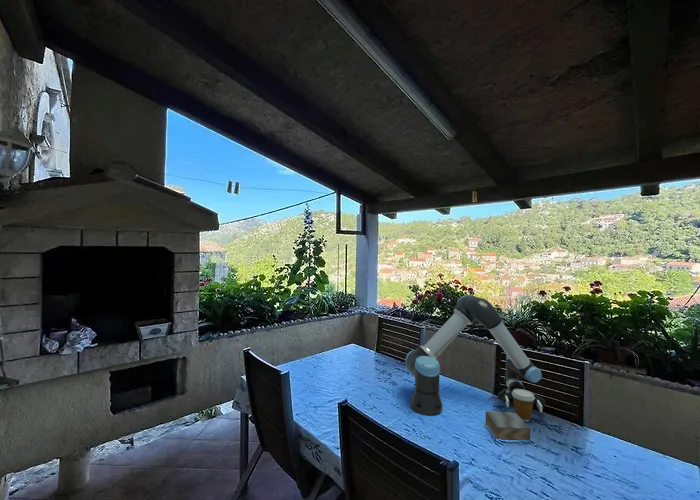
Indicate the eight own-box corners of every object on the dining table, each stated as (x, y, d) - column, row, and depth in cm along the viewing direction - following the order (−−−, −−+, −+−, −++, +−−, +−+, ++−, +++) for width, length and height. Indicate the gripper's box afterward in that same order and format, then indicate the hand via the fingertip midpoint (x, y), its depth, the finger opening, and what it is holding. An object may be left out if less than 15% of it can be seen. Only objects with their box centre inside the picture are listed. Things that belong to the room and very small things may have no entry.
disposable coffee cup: (522, 425, 145) (522, 398, 145) (506, 414, 154) (507, 389, 154) (539, 422, 148) (540, 396, 148) (523, 412, 157) (523, 387, 157)
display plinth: (497, 441, 132) (497, 426, 132) (485, 424, 145) (485, 411, 145) (530, 443, 131) (530, 428, 131) (515, 426, 144) (515, 412, 144)
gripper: (543, 399, 165) (555, 419, 145) (490, 392, 173) (494, 410, 153) (543, 384, 165) (555, 402, 145) (490, 378, 173) (494, 394, 153)
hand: (524, 406), depth 149 cm, fingers open, 13 cm apart
